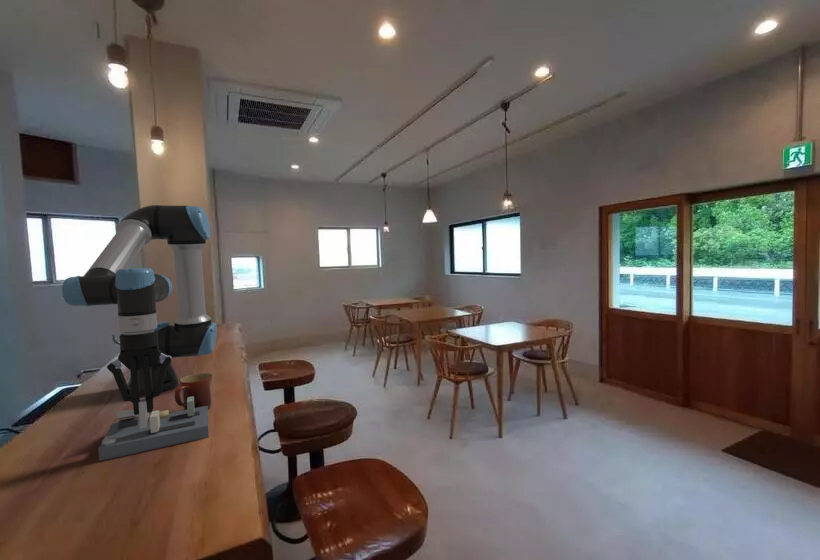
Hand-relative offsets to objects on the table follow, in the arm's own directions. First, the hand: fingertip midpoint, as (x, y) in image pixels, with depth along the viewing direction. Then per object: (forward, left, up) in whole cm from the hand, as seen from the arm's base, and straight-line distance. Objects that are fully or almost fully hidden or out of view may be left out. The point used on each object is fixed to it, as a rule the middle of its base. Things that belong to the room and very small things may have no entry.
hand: (144, 425), depth 91 cm
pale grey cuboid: (0, +2, -1) cm, 3 cm away
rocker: (-8, -4, +1) cm, 9 cm away
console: (-4, +3, -5) cm, 7 cm away
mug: (-16, +10, -5) cm, 19 cm away
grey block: (-7, +10, -1) cm, 12 cm away
